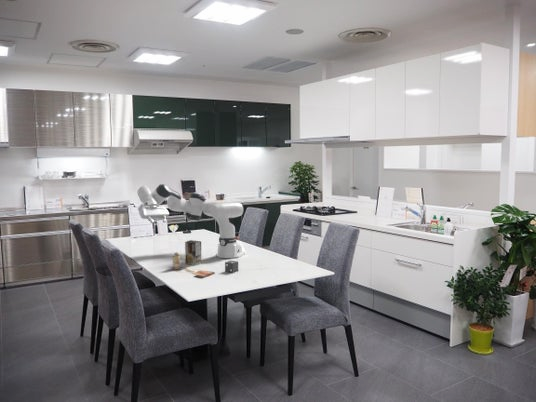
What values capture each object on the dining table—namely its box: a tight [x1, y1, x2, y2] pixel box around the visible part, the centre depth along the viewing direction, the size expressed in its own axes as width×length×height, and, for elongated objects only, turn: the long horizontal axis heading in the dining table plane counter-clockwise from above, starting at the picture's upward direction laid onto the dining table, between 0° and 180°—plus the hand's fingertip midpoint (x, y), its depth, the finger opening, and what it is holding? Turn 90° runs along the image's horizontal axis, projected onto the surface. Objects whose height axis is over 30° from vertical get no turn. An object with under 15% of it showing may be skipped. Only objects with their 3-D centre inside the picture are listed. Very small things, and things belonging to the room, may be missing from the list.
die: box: [224, 260, 239, 274], centre depth 286 cm, size 6×6×6 cm
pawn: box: [172, 252, 181, 270], centre depth 286 cm, size 4×4×11 cm
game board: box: [166, 266, 215, 279], centre depth 282 cm, size 12×30×1 cm, turn 61°
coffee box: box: [184, 239, 202, 266], centre depth 301 cm, size 9×6×16 cm
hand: (159, 222), depth 296 cm, fingers open, 8 cm apart
